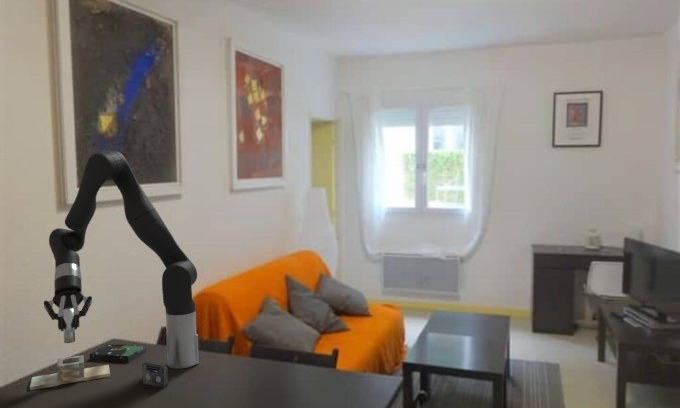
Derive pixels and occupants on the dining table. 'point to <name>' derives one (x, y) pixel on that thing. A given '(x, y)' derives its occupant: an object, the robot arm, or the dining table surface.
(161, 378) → the mini dv tape
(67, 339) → the hinge pin
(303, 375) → the dining table surface
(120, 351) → the disk drive
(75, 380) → the hinge leaves
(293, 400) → the dining table surface
